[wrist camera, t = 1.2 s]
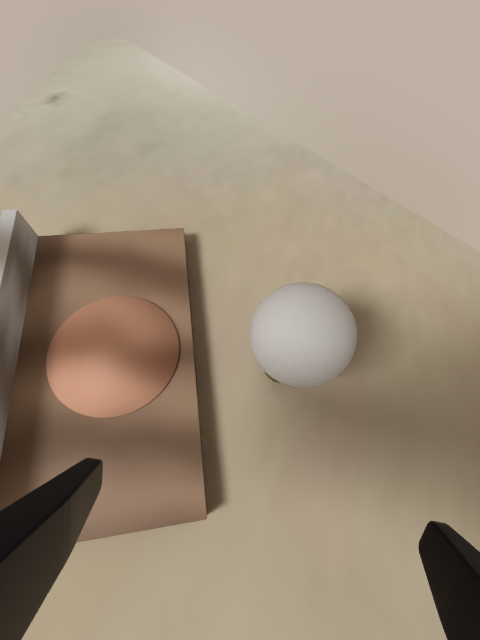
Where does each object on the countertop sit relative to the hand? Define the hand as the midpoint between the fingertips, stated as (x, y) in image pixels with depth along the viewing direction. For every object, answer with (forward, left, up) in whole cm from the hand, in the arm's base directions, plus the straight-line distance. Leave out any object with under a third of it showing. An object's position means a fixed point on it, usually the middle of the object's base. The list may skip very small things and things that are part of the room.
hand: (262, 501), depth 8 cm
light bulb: (+4, -7, -13) cm, 16 cm away
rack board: (+12, +3, -13) cm, 18 cm away
